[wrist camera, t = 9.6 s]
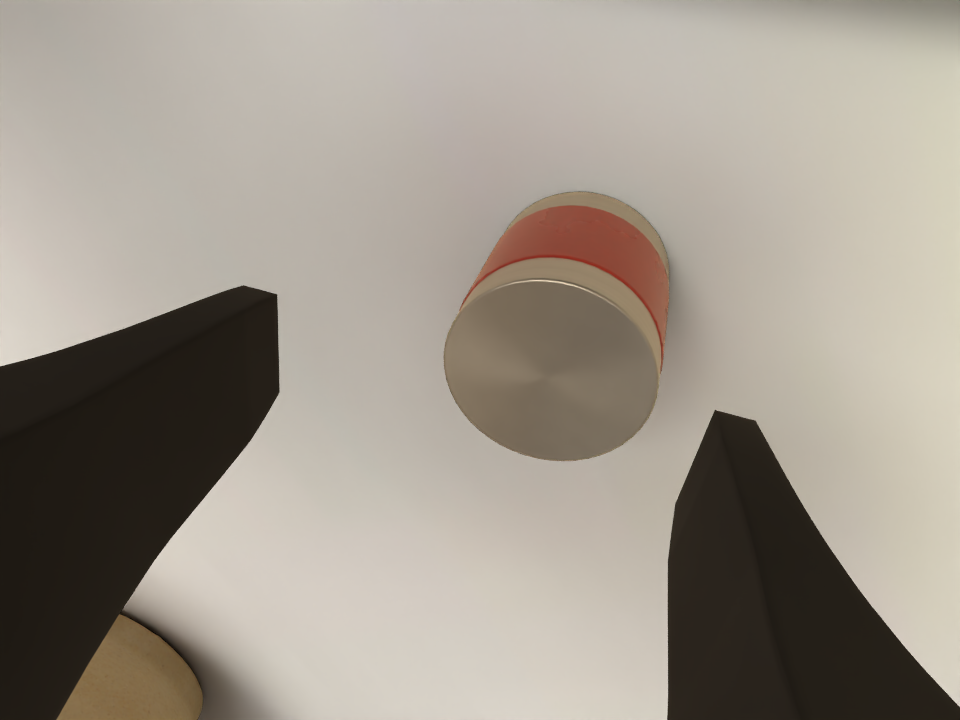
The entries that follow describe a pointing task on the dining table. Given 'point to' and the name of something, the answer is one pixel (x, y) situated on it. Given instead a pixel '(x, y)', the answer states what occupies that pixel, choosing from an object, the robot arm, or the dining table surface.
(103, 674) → the planter bowl
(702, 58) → the dining table surface
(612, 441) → the tin can
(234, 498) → the dining table surface
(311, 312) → the dining table surface
